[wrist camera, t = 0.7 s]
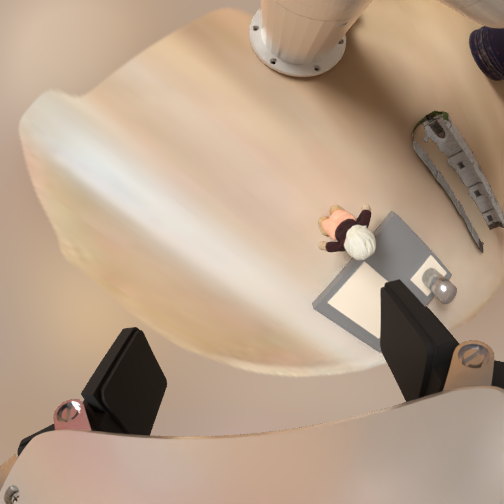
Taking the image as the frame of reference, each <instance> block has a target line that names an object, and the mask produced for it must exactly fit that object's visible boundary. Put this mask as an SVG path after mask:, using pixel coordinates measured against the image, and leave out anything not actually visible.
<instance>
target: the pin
mask: <svg viewBox="0 0 504 504" xmlns="http://www.w3.org/2000/svg"><path fill="white" fill-rule="evenodd" d="M422 282H423V284H424V285H425V286H426V287H427V288H428V289H429V290H430V291H431V292H432V293H433V294H434V295H435V296H436V297H437V298H438V299H439V300H440V301H441V302H442V303H443V304H448V303H450V302H451V301H452V300H453V299H454V298H455V296H456V293H457V289H456V287H455V286H454V285H453V284H452V283H451V282H450V281H449V280H447V279H446V278H445V277H444V276H443V275H442V274H441V273H439V272H438V271H437V270H436V269H435V268H429V269H427V270H426V271H425V272H424V274H423V276H422Z"/></svg>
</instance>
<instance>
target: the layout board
mask: <svg viewBox="0 0 504 504" xmlns="http://www.w3.org/2000/svg"><path fill="white" fill-rule="evenodd" d="M373 235H374V237H375V240H376V249H375V252H374V254H372V255H371V256H369V257H368V258H366V259H365V260H356V259H354V258H352V259H351V261H350V262H349V263H348V264H347V265H346V266H345V268H344V269H343V270H342V271H341V272H340V273H339V274H338V275H337V277H336V278H335V279H334V280H333V281H332V282H331V283H330V284H329V286H328V287H327V288H326V289H325V290H324V291H323V292H322V293H321V294H320V295H319V297H318V298H317V299H316V300H315V301H314V302H313V303H312V305H313V308H314V309H315V310H317V311H318V312H320V313H321V314H322V315H324V316H325V317H327V318H328V319H330V320H331V321H333V322H334V323H336V324H337V325H339V326H340V327H342V328H343V329H345V330H346V331H348V332H349V333H351V334H352V335H354V336H355V337H357V338H358V339H360V340H361V341H363V342H365V343H366V344H368V345H369V346H371V347H372V348H374V349H375V350H377V351H378V352H381V347H380V328H381V297H380V290H381V288H382V287H384V285H385V283H386V282H390V281H394V280H398V279H400V280H401V281H402V282H403V283H404V284H405V285H406V286H407V287H408V289H409V290H410V291H411V292H412V293H413V294H414V295H415V296H416V297H417V298H418V299H419V301H420V302H421V303H422V304H423V305H424V306H426V305H427V304H428V303H429V302H430V300H431V299H432V298H433V297H434V296H435V295H434V294H433V293H432V292H431V291H430V290H429V289H428V288H427V287H426V286H425V285H424V284H423V282H422V276H423V274H424V272H425V271H426V270H427V269H429V268H435V269H436V270H437V271H438V272H439V273H441V274H442V275H443V276H444V277H445V278H446V279H447V280H448V279H449V278H450V277H451V275H452V274H451V273H450V272H449V271H448V270H447V268H446V267H445V266H444V265H443V264H442V262H441V261H440V260H439V259H438V258H437V257H436V256H435V254H434V253H433V252H432V251H431V250H430V249H429V248H428V247H427V246H426V244H425V243H424V242H423V241H422V240H421V239H420V238H419V237H418V236H417V235H416V234H415V233H414V232H413V231H412V230H411V228H410V227H409V226H408V225H407V224H406V223H405V222H404V221H403V220H402V219H401V218H400V217H399V216H398V215H397V214H396V213H394V212H392V211H391V212H390V213H389V214H388V216H387V217H386V218H385V220H384V221H383V222H382V223H381V225H380V226H379V227H378V228H377V229H376V231H375V232H374V233H373Z"/></svg>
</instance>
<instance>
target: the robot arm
mask: <svg viewBox="0 0 504 504" xmlns="http://www.w3.org/2000/svg"><path fill="white" fill-rule="evenodd" d="M438 1H440V2H442V3H443V4H445V5H447V6H448V7H450V8H452V9H453V10H455V11H457V12H458V13H460V14H462V15H463V16H465V17H467V18H468V19H470V20H472V21H474V22H476V23H478V24H481V25H483V26H487V27H490V28H504V0H438ZM371 2H372V0H261V8H260V9H259V10H258V11H257V13H256V14H255V15H254V16H253V19H252V21H251V23H250V28H249V38H250V43H251V46H252V48H253V51H254V52H255V54H256V55H257V57H258V58H259V59H260V60H261V61H262V62H263V63H264V64H265V65H267V66H268V67H270V68H271V69H273V70H275V71H277V72H279V73H282V74H285V75H288V76H294V77H311V76H317V75H320V74H322V73H325V72H326V71H328V70H330V69H331V68H333V67H334V66H335V65H336V64H337V63H338V62H339V60H340V59H341V58H342V56H343V54H344V51H345V47H346V35H345V33H346V32H347V31H348V30H349V29H350V27H351V26H352V25H353V24H354V22H355V21H356V20H357V19H358V18H359V16H360V15H361V14H362V13H363V12H364V10H365V9H366V8H367V7H368V5H369V4H370V3H371ZM255 29H257V31H254V30H255ZM338 42H340V43H341V44H339V43H338ZM272 62H275V64H272ZM314 68H317V69H318V71H315V69H314ZM380 297H381V328H380V347H381V351H382V354H383V356H384V358H385V360H386V361H387V363H388V365H389V367H390V369H391V371H392V373H393V375H394V377H395V379H396V381H397V383H398V386H399V388H400V390H401V392H402V394H403V396H404V398H405V400H406V402H405V403H402V404H398V405H395V406H392V407H388V408H385V409H381V410H378V411H374V412H370V413H366V414H362V415H358V416H354V417H350V418H345V419H341V420H336V421H332V422H327V423H322V424H317V425H311V426H305V427H299V428H293V429H285V430H279V431H270V432H262V433H251V434H240V435H224V436H195V437H193V436H192V437H178V436H150V433H151V430H152V427H153V424H154V421H155V419H156V416H157V413H158V410H159V407H160V404H161V401H162V398H163V396H164V392H165V390H166V387H167V380H166V378H165V376H164V374H163V372H162V370H161V368H160V366H159V364H158V362H157V360H156V358H155V356H154V355H153V352H152V350H151V348H150V346H149V344H148V341H147V339H146V337H145V335H144V333H143V332H142V331H141V330H139V329H138V328H136V327H134V328H125V329H123V330H122V331H121V333H120V334H119V336H118V337H117V339H116V340H115V342H114V343H113V345H112V346H111V348H110V349H109V351H108V352H107V354H106V355H105V357H104V358H103V360H102V361H101V363H100V364H99V366H98V367H97V369H96V371H95V372H94V374H93V375H92V377H91V378H90V380H89V382H88V383H87V385H86V387H85V388H84V390H83V391H82V393H81V395H82V396H83V398H84V399H85V400H84V401H83V402H82V401H80V400H79V399H70V400H67V401H65V402H63V403H62V404H60V405H59V406H58V407H57V409H56V410H55V412H54V417H53V419H54V424H52V425H50V426H49V427H47V428H45V429H43V430H41V431H39V432H37V433H35V434H33V435H31V436H29V437H27V438H25V439H23V440H22V441H21V443H20V445H19V448H18V456H16V455H15V454H14V455H13V456H12V457H11V458H10V459H8V460H7V461H6V462H5V463H4V464H2V465H1V466H0V504H504V362H500V361H495V360H494V353H493V351H492V349H491V348H490V347H489V346H488V345H487V344H485V343H483V342H480V341H471V340H470V341H466V342H463V343H461V344H459V343H458V342H457V341H456V339H455V338H454V337H453V336H452V335H451V333H450V332H449V331H448V330H447V329H446V328H445V326H444V325H443V324H442V323H441V322H440V321H439V319H438V318H437V317H436V316H435V315H434V314H433V313H432V312H431V310H430V309H429V308H427V307H425V306H424V305H423V304H422V303H421V302H420V301H419V299H418V298H417V297H416V296H415V295H414V294H413V293H412V292H411V291H410V290H409V289H408V287H407V286H406V285H405V284H404V283H403V282H402V281H401V280H400V279H398V280H394V281H390V282H386V283H385V285H384V287H382V288H381V290H380Z"/></svg>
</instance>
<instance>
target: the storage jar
mask: <svg viewBox="0 0 504 504" xmlns="http://www.w3.org/2000/svg"><path fill="white" fill-rule="evenodd" d="M469 45H470V49H471V53H472V55H473V58H474V60H475V62H476V63H477V65H478V66H479V68H480V69H481V70H482V72H483V73H484V74H485V75H487V76H488V77H489V78H491V79H493V80H504V28H490V27H487V26H483V27H481V28H480V29H478V30H475V31H473V32H472V33H471V35H470V38H469Z"/></svg>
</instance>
